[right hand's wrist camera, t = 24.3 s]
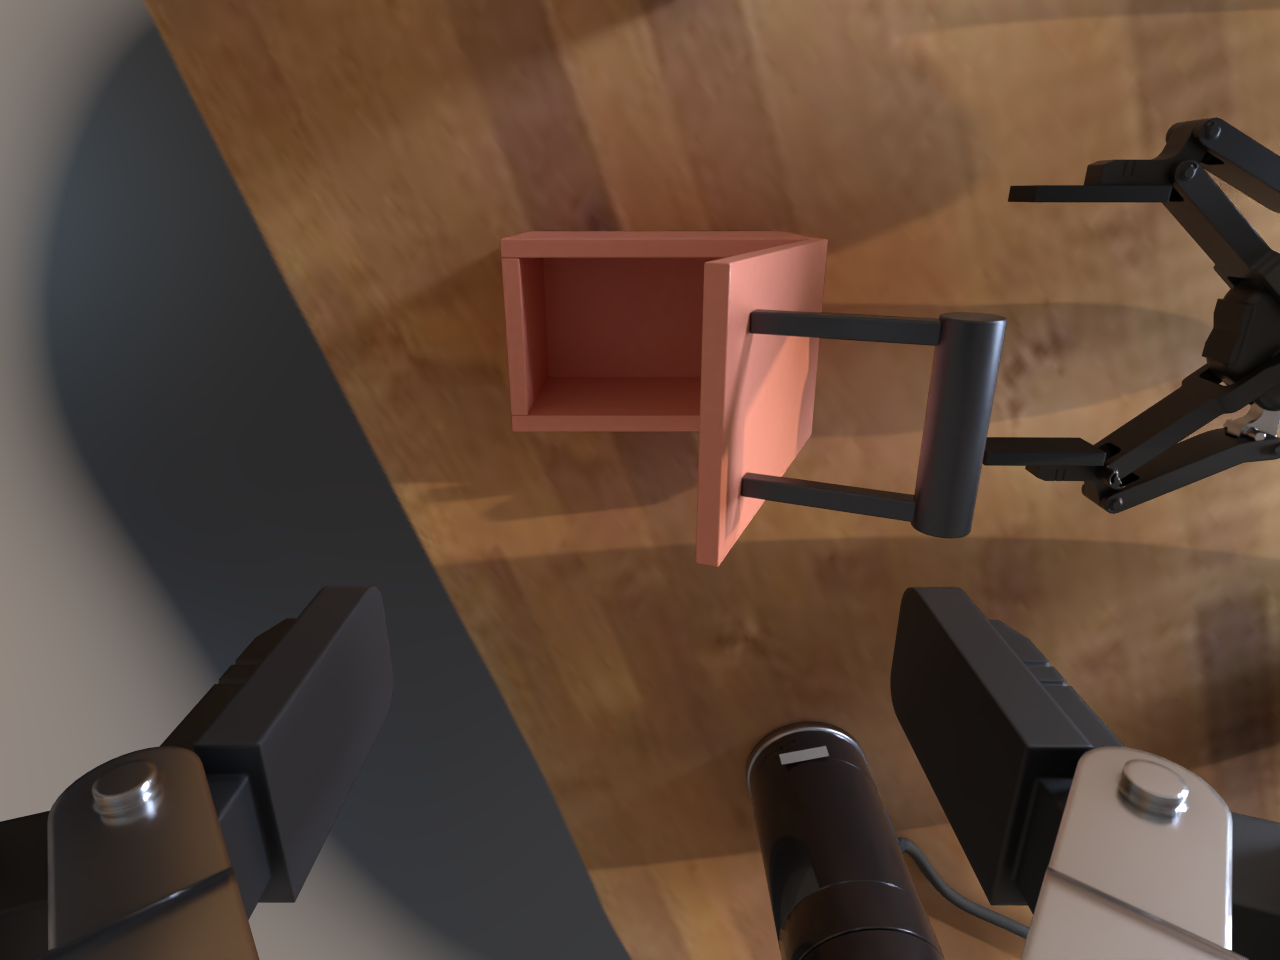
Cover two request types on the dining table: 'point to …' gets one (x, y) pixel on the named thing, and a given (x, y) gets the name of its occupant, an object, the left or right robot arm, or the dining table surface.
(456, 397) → the dining table surface
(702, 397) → the lid
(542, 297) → the chest
